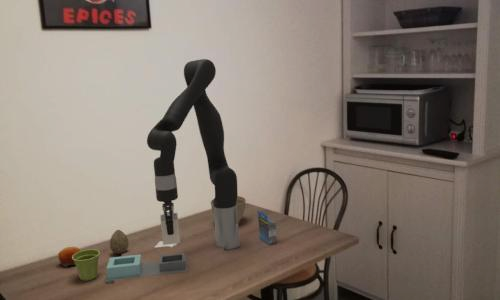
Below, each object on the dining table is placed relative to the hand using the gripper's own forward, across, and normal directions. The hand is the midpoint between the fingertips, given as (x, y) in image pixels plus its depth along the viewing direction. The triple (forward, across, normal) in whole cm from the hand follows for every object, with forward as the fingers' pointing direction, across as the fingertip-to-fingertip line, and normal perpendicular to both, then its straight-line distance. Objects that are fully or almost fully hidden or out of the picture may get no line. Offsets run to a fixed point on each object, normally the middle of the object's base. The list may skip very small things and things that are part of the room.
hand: (170, 231), depth 166 cm
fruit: (+14, +16, +39) cm, 44 cm away
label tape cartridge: (+15, +17, -39) cm, 45 cm away
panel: (+14, 0, +10) cm, 17 cm away
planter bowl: (+15, +43, -26) cm, 52 cm away
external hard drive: (+15, +19, +4) cm, 25 cm away
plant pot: (+14, +1, +30) cm, 34 cm away
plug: (+4, 0, 0) cm, 4 cm away
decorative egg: (+14, +20, +21) cm, 33 cm away
